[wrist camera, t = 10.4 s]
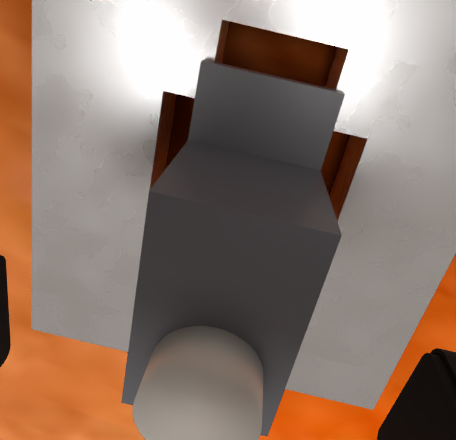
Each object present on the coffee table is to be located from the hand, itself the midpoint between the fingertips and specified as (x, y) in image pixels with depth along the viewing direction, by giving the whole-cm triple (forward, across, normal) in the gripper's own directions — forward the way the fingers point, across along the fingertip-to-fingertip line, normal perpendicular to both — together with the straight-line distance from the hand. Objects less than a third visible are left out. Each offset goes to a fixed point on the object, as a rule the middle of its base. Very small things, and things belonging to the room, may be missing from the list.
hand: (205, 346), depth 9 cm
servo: (+9, 0, +1) cm, 9 cm away
